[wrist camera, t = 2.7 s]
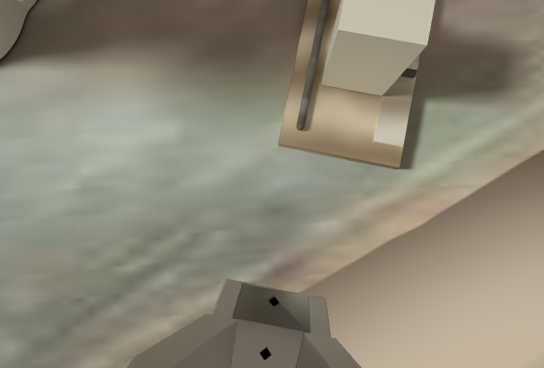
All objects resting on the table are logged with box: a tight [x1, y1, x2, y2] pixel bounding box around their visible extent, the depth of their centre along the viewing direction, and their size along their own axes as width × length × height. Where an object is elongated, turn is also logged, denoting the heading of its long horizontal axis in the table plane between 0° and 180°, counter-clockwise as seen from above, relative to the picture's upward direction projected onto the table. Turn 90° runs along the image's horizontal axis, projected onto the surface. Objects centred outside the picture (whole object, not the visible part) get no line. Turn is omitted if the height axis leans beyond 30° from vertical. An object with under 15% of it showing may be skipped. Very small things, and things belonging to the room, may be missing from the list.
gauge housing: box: [321, 0, 435, 96], centre depth 27 cm, size 7×9×10 cm
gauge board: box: [278, 0, 421, 169], centre depth 32 cm, size 26×12×2 cm, turn 168°
